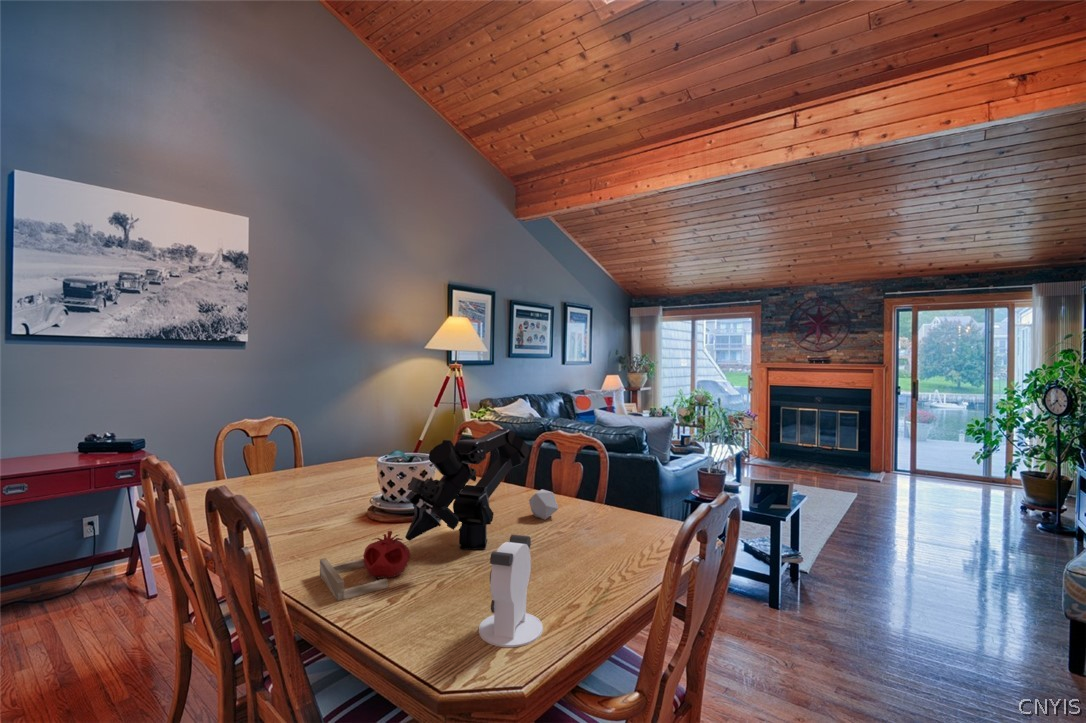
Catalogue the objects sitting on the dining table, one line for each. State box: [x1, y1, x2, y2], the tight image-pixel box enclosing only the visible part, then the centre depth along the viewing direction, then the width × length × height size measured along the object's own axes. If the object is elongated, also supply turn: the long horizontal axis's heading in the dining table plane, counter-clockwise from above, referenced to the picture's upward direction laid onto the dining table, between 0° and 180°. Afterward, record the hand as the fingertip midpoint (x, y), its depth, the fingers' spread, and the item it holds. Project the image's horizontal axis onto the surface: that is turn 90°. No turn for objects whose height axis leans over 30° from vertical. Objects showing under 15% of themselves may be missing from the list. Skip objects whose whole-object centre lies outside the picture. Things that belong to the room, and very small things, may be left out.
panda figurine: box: [478, 534, 544, 648], centre depth 88 cm, size 12×11×15 cm
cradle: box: [319, 557, 389, 602], centre depth 106 cm, size 10×15×4 cm, turn 37°
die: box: [528, 489, 559, 521], centre depth 153 cm, size 8×9×10 cm
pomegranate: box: [362, 530, 411, 579], centre depth 111 cm, size 10×10×9 cm
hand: (407, 539), depth 114 cm, fingers closed
